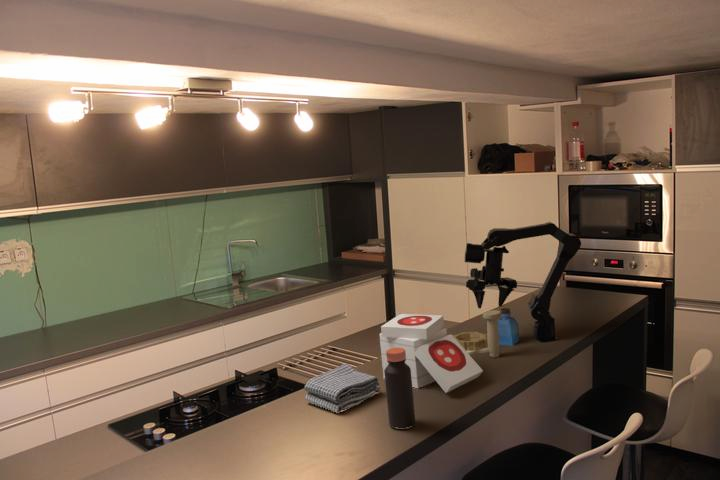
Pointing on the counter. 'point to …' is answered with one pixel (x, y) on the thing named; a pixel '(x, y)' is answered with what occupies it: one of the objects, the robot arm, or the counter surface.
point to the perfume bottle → (507, 328)
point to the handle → (492, 332)
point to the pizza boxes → (428, 351)
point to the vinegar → (399, 389)
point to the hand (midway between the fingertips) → (489, 307)
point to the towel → (340, 388)
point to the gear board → (473, 342)
